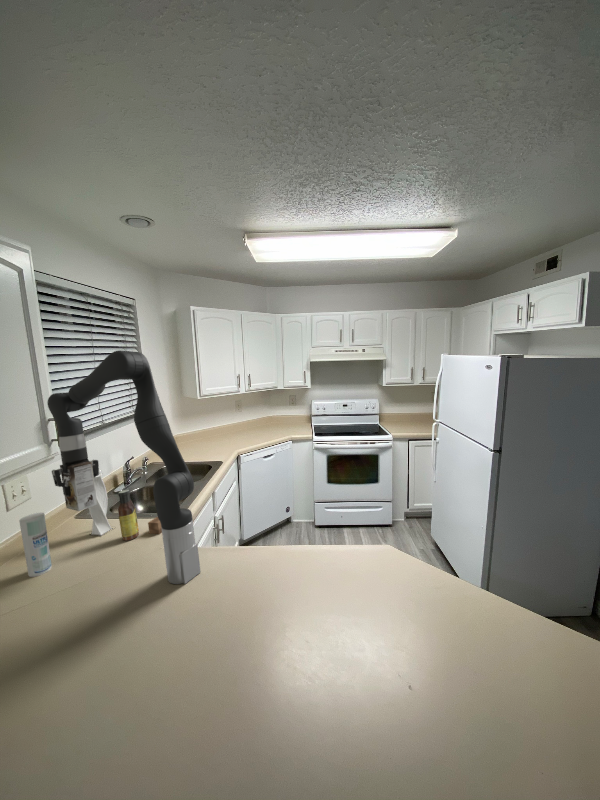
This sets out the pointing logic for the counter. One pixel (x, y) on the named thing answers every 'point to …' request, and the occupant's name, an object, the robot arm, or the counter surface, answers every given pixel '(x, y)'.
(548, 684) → the counter surface
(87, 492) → the coffee box
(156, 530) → the walnut block
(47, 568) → the spray can
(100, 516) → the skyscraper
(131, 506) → the sauce bottle
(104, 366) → the robot arm
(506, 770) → the counter surface
